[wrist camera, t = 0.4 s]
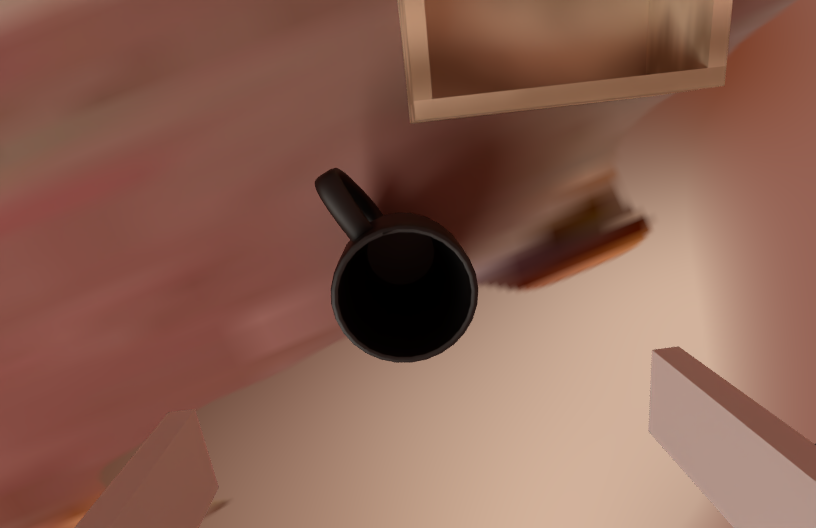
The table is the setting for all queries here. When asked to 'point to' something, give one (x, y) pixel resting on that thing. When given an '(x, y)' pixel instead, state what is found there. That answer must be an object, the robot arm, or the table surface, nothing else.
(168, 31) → the table surface
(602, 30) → the open wooden box
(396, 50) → the table surface
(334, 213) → the mug
